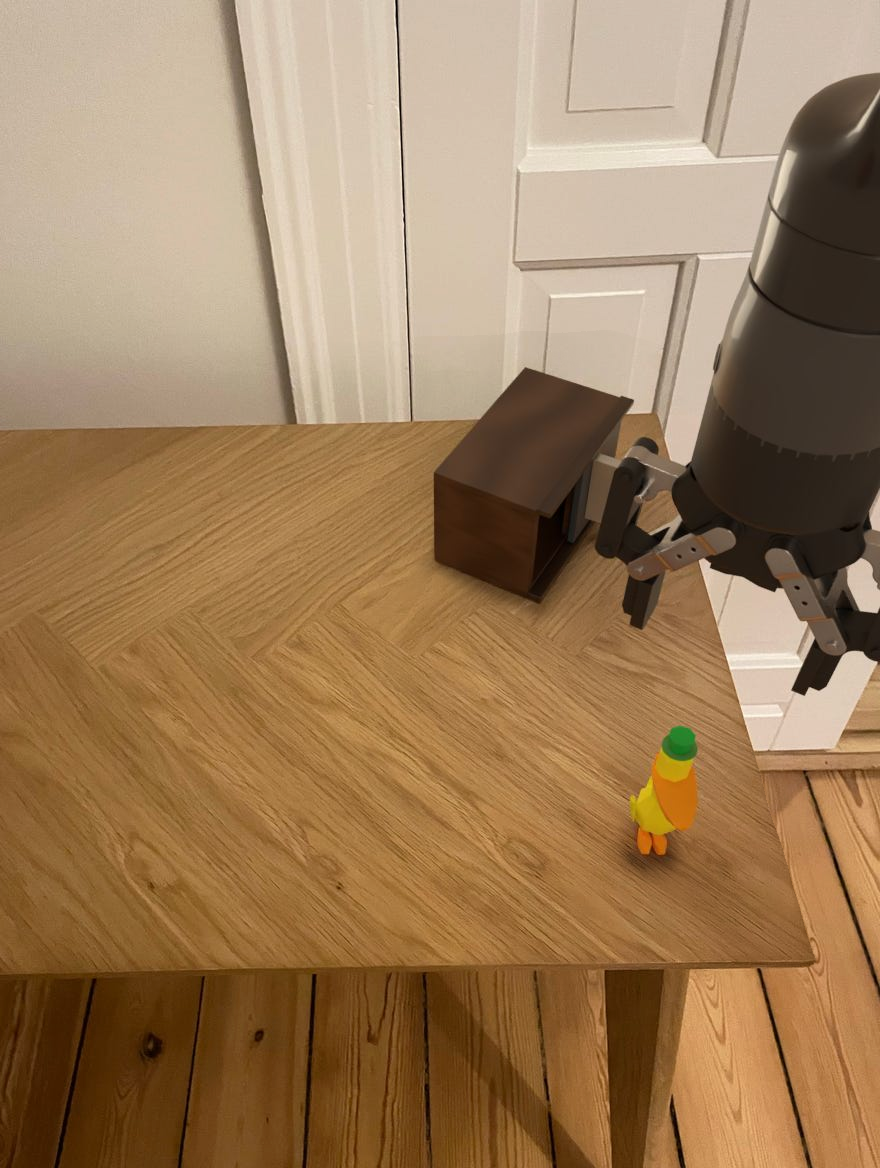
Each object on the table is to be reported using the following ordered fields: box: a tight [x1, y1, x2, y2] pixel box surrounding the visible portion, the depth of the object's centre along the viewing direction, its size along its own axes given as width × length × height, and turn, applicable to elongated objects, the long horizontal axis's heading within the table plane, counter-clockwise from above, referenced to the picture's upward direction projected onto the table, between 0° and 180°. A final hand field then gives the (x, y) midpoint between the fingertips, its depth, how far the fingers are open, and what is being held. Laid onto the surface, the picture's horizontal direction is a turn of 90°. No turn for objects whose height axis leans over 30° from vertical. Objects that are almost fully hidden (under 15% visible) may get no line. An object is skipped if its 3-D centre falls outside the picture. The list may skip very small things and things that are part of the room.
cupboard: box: [433, 366, 635, 604], centre depth 83 cm, size 10×16×10 cm, turn 149°
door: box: [567, 421, 622, 543], centre depth 82 cm, size 4×8×8 cm, turn 149°
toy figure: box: [628, 725, 699, 856], centre depth 62 cm, size 7×4×12 cm, turn 179°
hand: (719, 648), depth 50 cm, fingers open, 8 cm apart
